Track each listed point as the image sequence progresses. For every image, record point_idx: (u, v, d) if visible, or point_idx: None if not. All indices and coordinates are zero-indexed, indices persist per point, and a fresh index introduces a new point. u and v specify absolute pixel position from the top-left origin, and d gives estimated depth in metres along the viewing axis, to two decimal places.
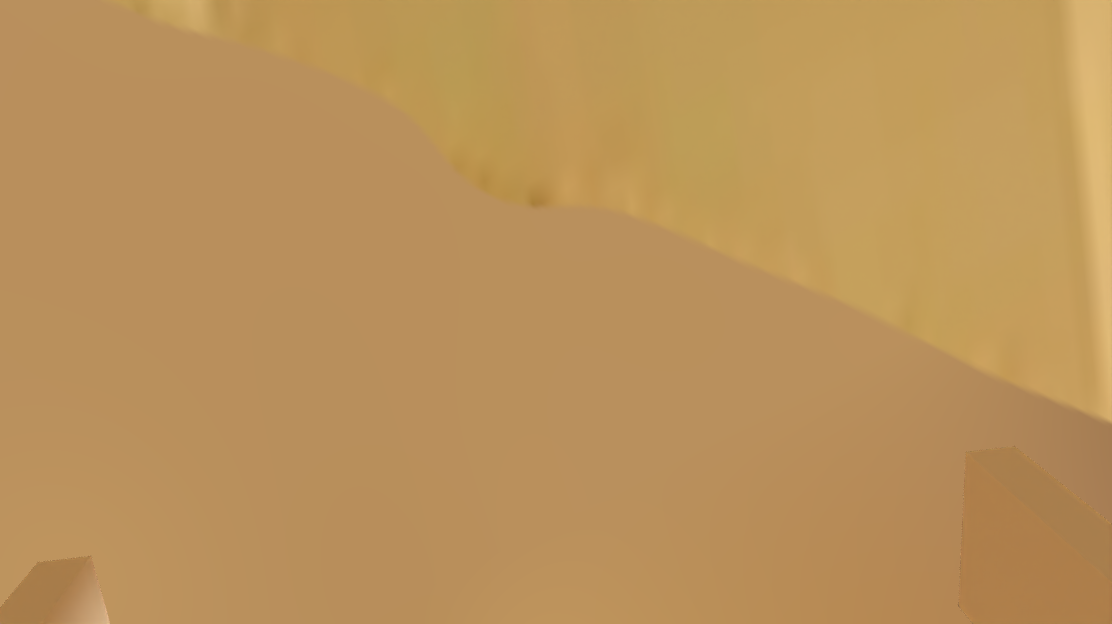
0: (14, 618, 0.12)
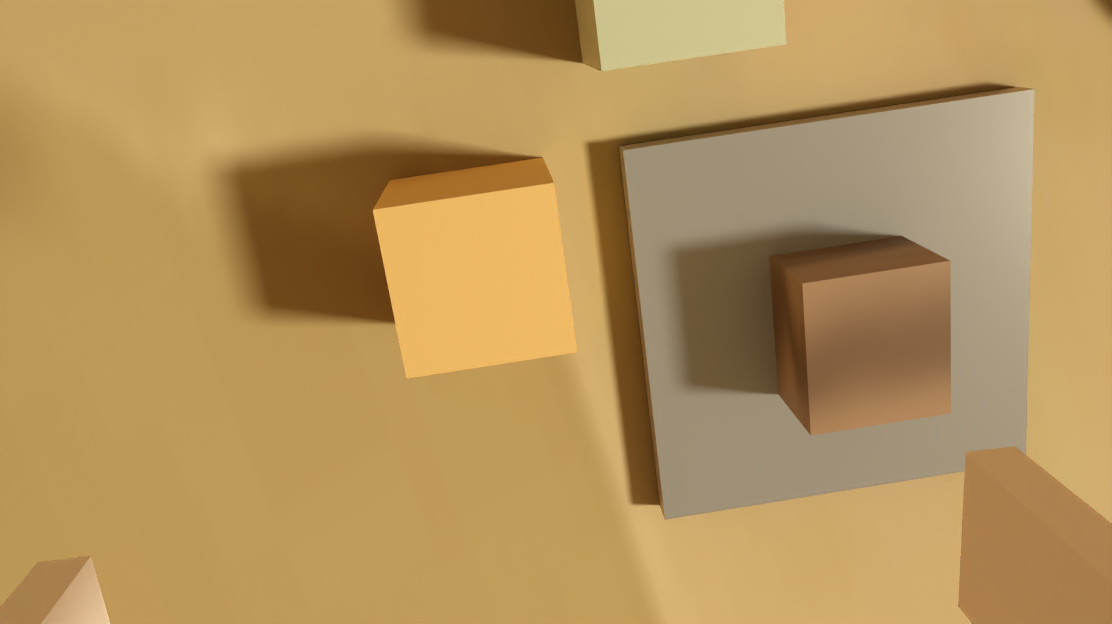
0: (14, 618, 0.12)
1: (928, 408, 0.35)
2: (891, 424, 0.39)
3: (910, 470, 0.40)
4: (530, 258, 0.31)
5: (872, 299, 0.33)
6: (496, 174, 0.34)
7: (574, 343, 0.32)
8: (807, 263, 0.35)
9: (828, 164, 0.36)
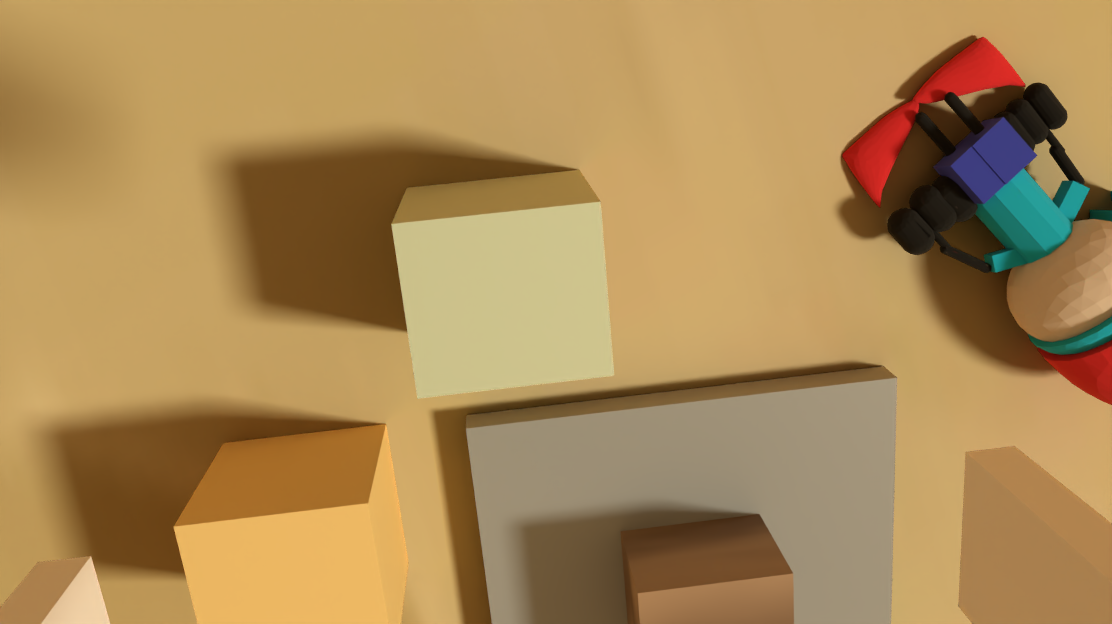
0: (14, 618, 0.12)
1: None
2: None
3: None
4: (344, 574, 0.29)
5: (712, 608, 0.32)
6: (325, 459, 0.32)
7: None
8: (653, 553, 0.34)
9: (682, 445, 0.34)
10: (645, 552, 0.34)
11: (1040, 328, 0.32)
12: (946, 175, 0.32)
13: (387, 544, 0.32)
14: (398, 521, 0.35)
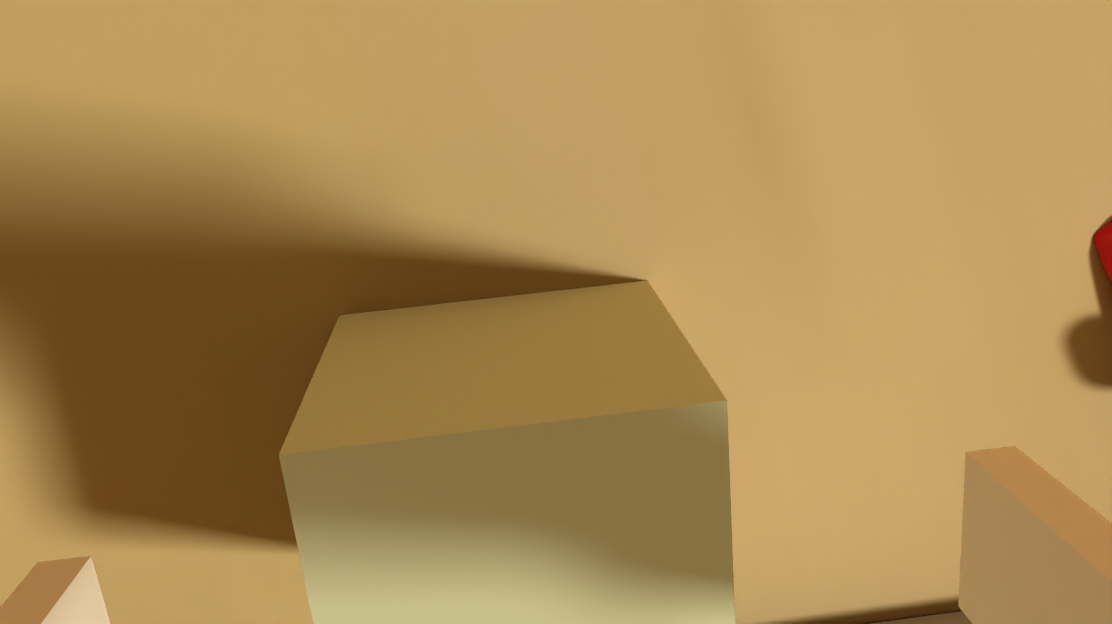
0: (14, 618, 0.12)
1: None
2: None
3: None
4: None
5: None
6: None
7: None
8: None
9: None
10: None
11: None
12: None
13: None
14: None
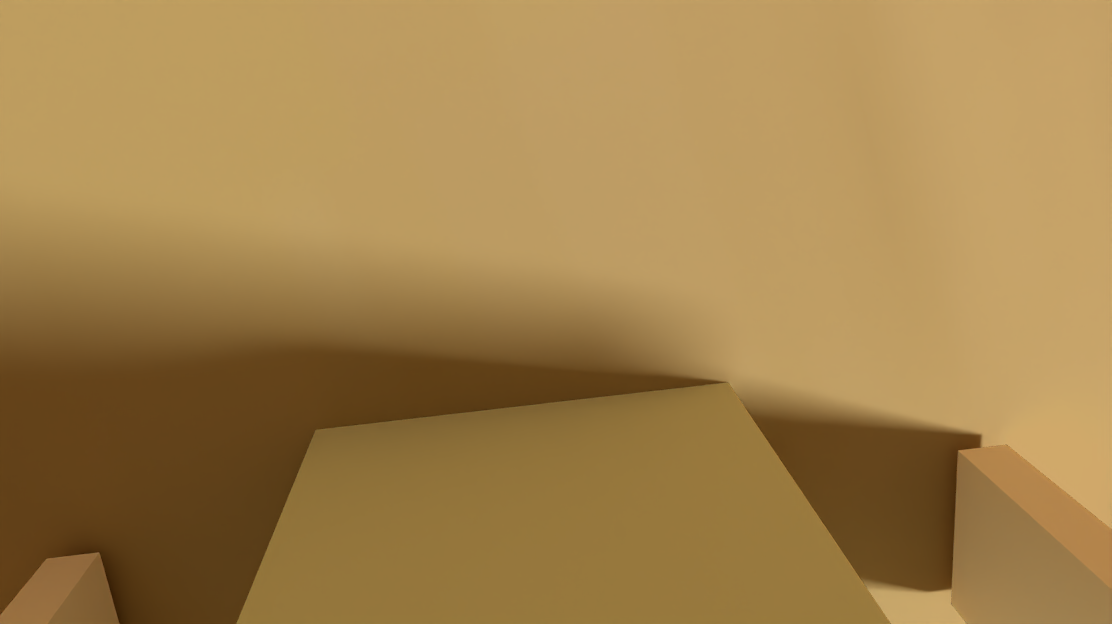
0: (24, 613, 0.12)
1: None
2: None
3: None
4: None
5: None
6: None
7: None
8: None
9: None
10: None
11: None
12: None
13: None
14: None
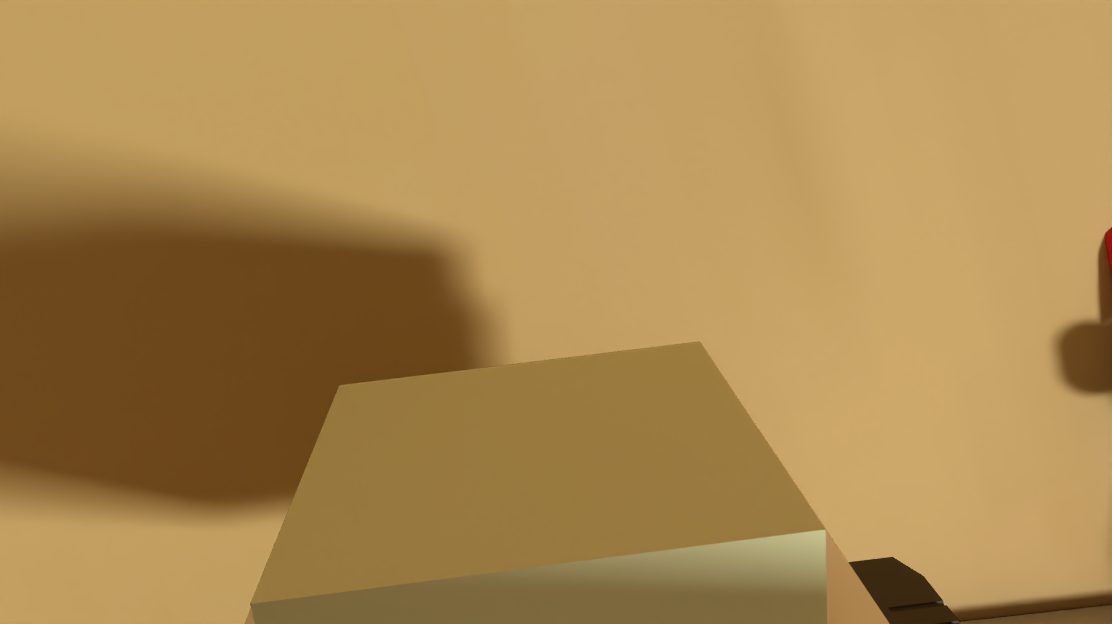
0: None
1: None
2: None
3: None
4: None
5: None
6: None
7: None
8: None
9: None
10: None
11: None
12: None
13: None
14: None
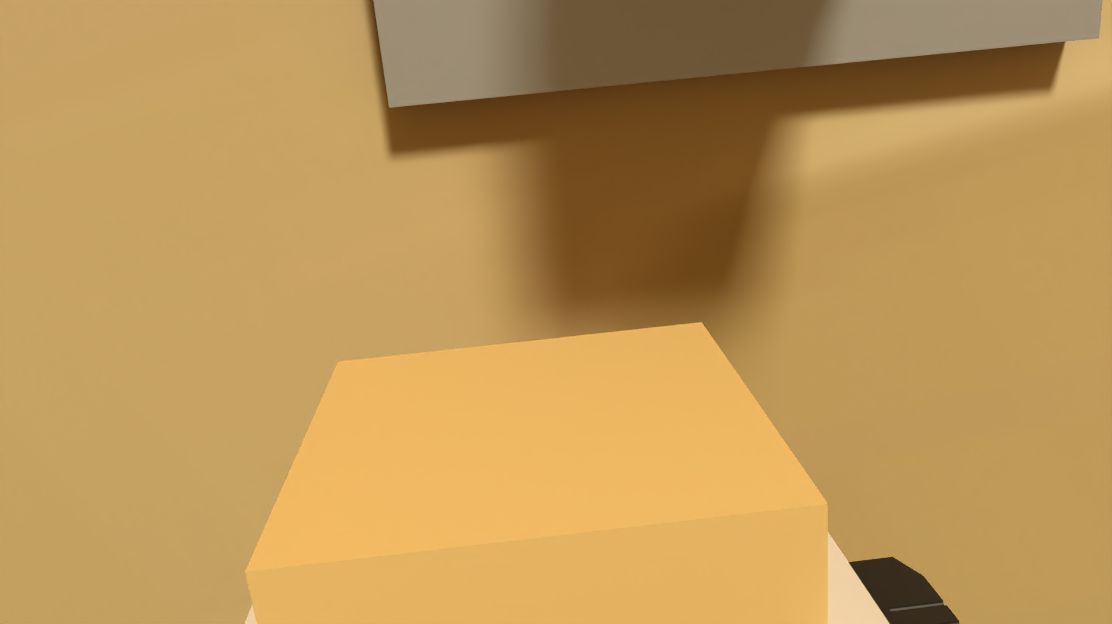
0: None
1: None
2: None
3: None
4: None
5: None
6: None
7: (796, 513, 0.10)
8: None
9: None
10: None
11: None
12: None
13: (511, 450, 0.11)
14: (566, 356, 0.14)
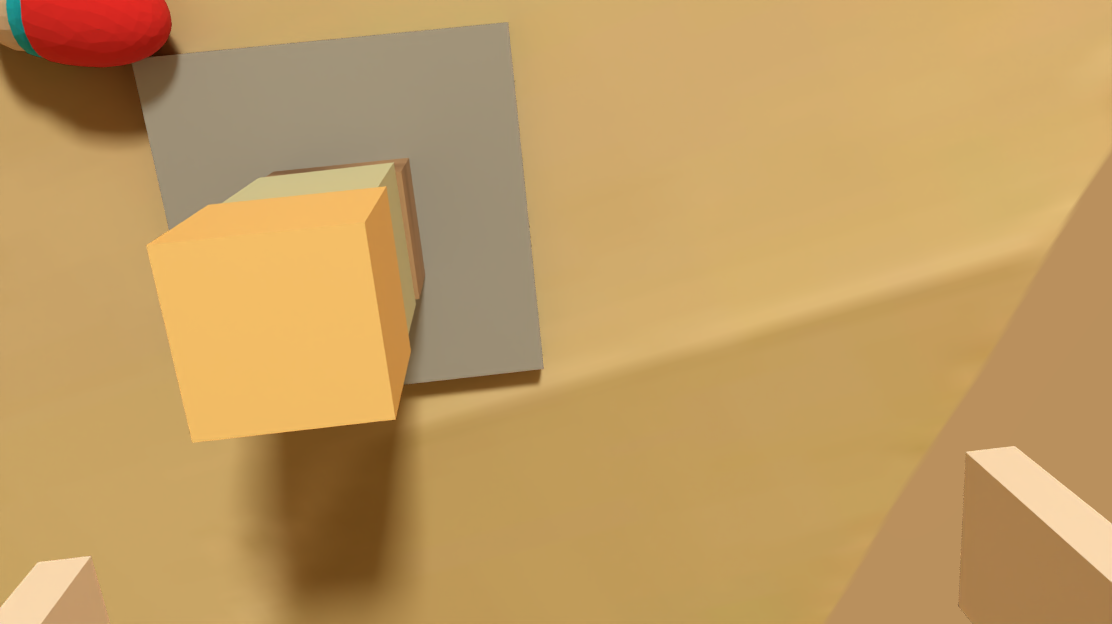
0: (14, 618, 0.12)
1: None
2: (460, 166, 0.41)
3: (510, 143, 0.41)
4: (242, 275, 0.26)
5: None
6: None
7: (352, 225, 0.26)
8: None
9: None
10: None
11: (7, 44, 0.37)
12: None
13: (263, 219, 0.27)
14: (313, 197, 0.30)
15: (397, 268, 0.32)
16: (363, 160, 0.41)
